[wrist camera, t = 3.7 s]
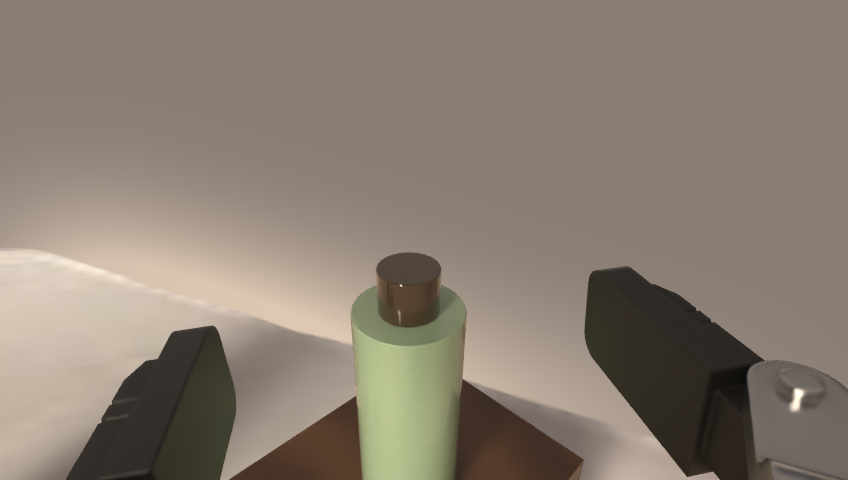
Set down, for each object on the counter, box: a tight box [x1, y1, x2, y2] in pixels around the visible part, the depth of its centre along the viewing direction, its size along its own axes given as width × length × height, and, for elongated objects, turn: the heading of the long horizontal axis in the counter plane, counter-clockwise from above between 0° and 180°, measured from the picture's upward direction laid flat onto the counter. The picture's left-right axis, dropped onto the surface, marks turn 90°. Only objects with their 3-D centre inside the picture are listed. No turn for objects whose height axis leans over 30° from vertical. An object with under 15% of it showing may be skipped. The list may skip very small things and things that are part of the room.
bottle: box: [351, 253, 466, 480], centre depth 22 cm, size 5×5×12 cm
